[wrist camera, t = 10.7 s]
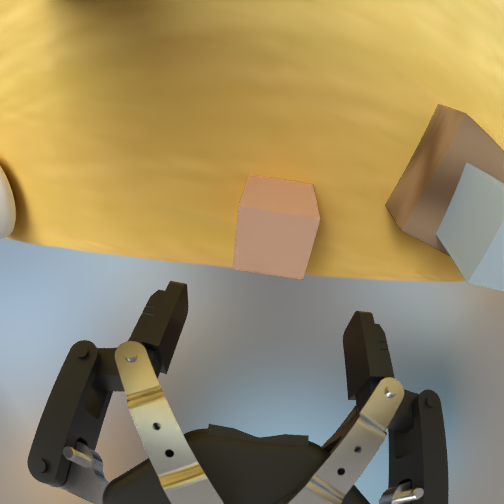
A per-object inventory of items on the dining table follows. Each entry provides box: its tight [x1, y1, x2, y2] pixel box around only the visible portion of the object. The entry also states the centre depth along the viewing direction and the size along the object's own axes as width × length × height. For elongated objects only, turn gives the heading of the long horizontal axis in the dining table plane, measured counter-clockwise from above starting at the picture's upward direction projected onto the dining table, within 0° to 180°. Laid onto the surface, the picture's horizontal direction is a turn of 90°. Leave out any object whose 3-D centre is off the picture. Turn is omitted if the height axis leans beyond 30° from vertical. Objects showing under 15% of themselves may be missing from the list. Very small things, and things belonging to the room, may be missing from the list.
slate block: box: [436, 162, 504, 291], centre depth 12 cm, size 6×6×5 cm
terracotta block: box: [233, 174, 320, 280], centre depth 18 cm, size 4×4×5 cm
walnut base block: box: [385, 104, 504, 257], centre depth 15 cm, size 9×9×4 cm
